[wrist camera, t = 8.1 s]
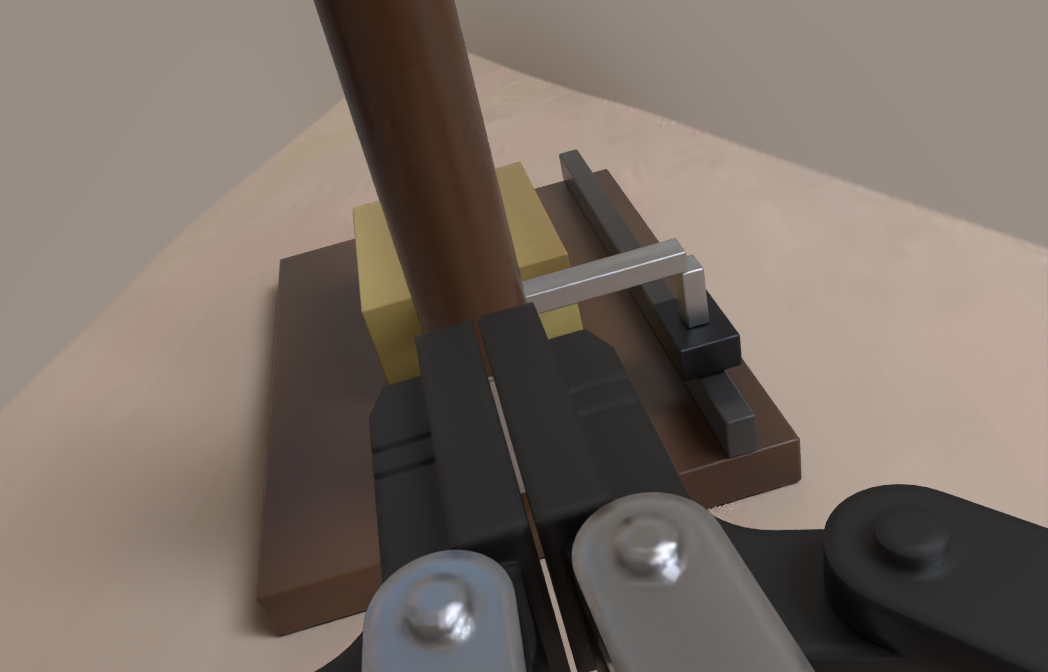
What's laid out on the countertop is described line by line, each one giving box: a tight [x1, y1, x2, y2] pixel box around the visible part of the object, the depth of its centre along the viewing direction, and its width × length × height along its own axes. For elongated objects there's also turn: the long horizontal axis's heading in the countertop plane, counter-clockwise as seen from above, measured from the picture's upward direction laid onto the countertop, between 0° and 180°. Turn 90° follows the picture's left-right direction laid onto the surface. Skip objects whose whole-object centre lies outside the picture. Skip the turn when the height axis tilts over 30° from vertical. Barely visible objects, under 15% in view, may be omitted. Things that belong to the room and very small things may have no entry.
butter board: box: [257, 150, 801, 636], centre depth 29 cm, size 14×18×5 cm
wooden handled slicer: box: [314, 0, 742, 494], centre depth 20 cm, size 8×6×16 cm
